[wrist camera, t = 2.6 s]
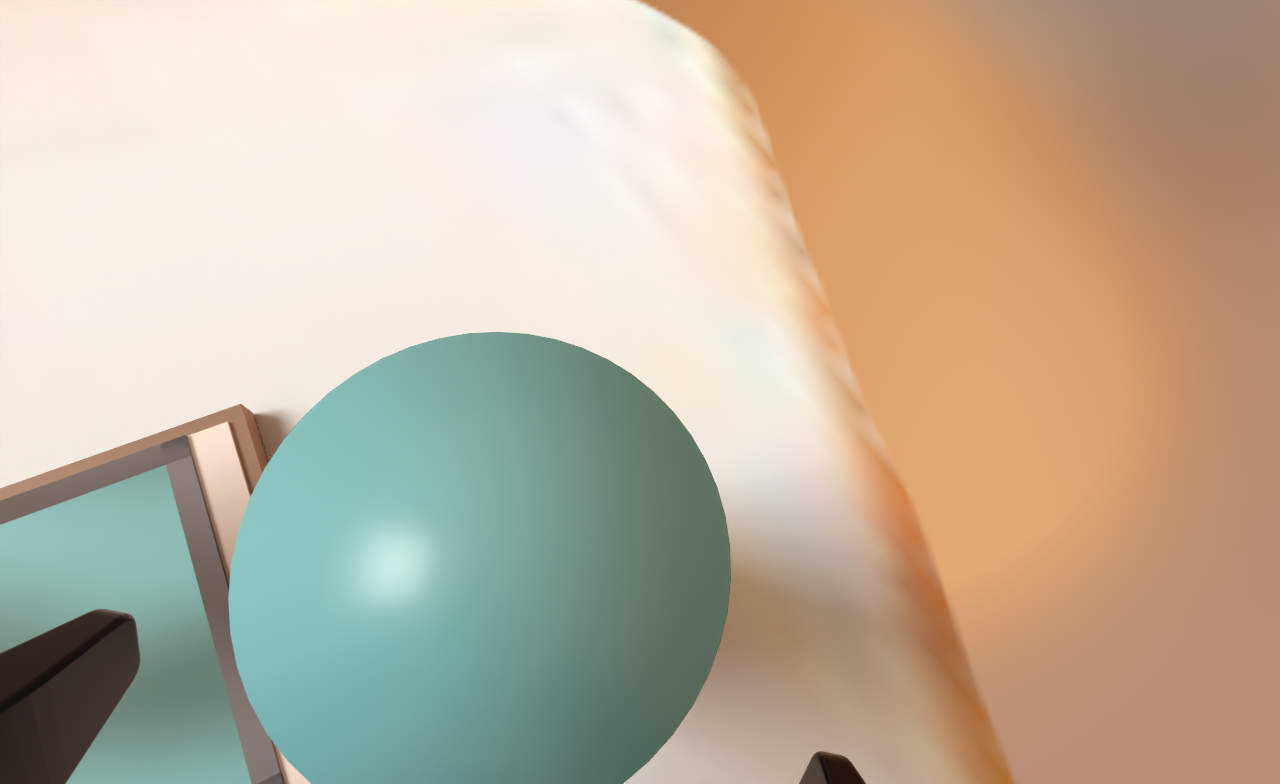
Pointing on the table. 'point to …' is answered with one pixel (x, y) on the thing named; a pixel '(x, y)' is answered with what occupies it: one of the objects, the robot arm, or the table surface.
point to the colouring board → (149, 595)
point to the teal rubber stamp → (480, 571)
